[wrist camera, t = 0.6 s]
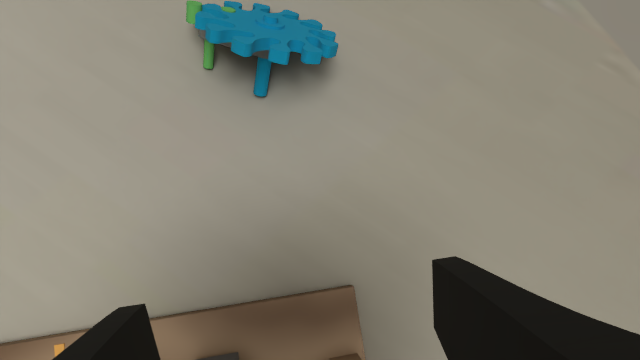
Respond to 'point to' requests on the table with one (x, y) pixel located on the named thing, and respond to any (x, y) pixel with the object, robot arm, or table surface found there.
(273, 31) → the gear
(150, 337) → the robot arm
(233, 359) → the collar
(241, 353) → the pipe stand
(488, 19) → the table surface
